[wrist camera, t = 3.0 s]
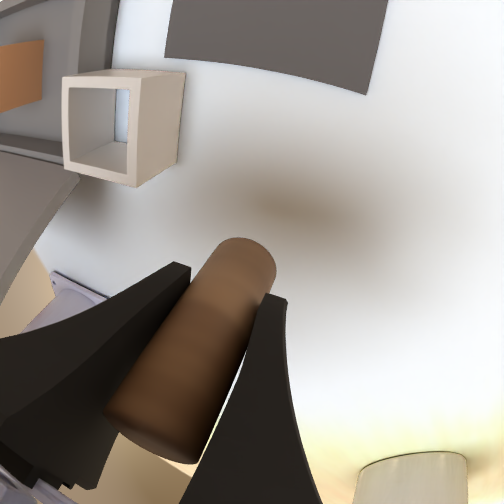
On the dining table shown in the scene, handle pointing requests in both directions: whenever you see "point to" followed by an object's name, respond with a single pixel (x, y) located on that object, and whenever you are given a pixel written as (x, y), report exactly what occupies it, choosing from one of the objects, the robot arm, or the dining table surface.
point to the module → (20, 74)
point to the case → (75, 119)
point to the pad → (282, 36)
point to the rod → (194, 355)
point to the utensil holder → (414, 480)
